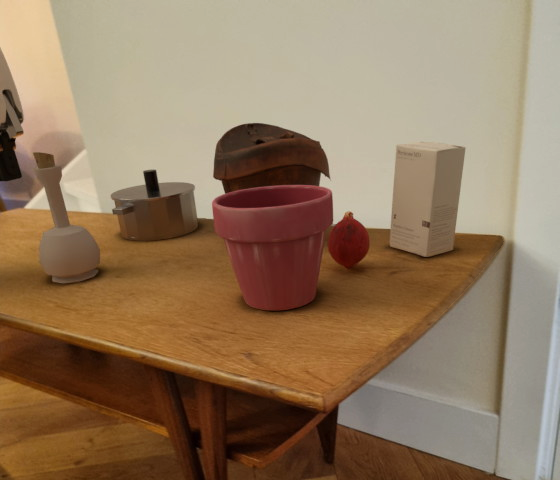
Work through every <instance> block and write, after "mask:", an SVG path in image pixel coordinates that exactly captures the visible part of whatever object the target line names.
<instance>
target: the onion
mask: <svg viewBox="0 0 560 480" xmlns="http://www.w3.org/2000/svg"><path fill="white" fill-rule="evenodd" d="M370 244H371V243H370V236H369V231H368V229H367V228H366V227H365V226H364V225H363V223H362V222H360V221H359V220H357V219H356V218H354V212H352V211H350V210H347V211H345V213H344V214H343V217H342V219H341V220H339V221H338V222H337V223H336V224H334V225H333V227H332V228H331V230H330V233H329V235H328V237H327V250H328V253H329V255H330V257H331V258H332V259H333V260H334V262H336V263H337V264H338V265H340V266H341V267H342V268H345V269H346V270H351V269H353V268H355V266H356V265H358V264H359V263H360V262H362V260H363V259H365V257H366V256H367V254H368V253H369V250H370Z"/></svg>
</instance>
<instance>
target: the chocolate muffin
mask: <svg viewBox="0 0 560 480" xmlns="http://www.w3.org/2000/svg"><path fill="white" fill-rule="evenodd" d="M322 175H324V177H327V178H328V179H329V181H332V179H331V175H330V165H329V160H328V157H327V154H326V151H325V150H324V148H322V144H321V142H320V141H319V140H315V139H313V138H310V137H309V136H307V135H304V134H303V133H300V132H297V131H294V130H291V129H287V128H283V127H280V126H278V125H274V124H268V123H263V122H251V123H250V122H249V123H243V124H238V125H237V126H234V127H232V128H230V129H228V130H227V131H225V132H224V134H222V136H221V137H220V139H219V140H218V141H217V143H216V144H215V152H214V159H213V174H212V177H213V179H215V180H216V181H217V180H218V181H220V182H221V185H222V188H223V192H224V194H226V193H229V192H233V191H238V190H243V189H249V188H256V187H265V186H279V185H313V186H320V183H321V178H322V177H321V176H322Z"/></svg>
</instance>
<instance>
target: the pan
mask: <svg viewBox="0 0 560 480" xmlns="http://www.w3.org/2000/svg"><path fill="white" fill-rule="evenodd" d="M194 191H195V190H194ZM194 191H193V192H191V193H188V194H186V195H182V196H179V197H174V198H169V199H163V200H156V201H146V202H119V201H114V200H113V201H114V202H113V203H114V206H115V207H113V208H111V212H112V215H117V220H118V221H117V222H118V226H119V230H120V234H121V237H123V239H125V240H130V241H137V242H139V241H140V242H147V241H162V240H167V239H172V238H173V239H174V238H177V237H181V236H185V235H187V234H190V233H192V232H194V231H196V230H197V229H198V227H199V220H198V214H197V205H196V198H195V192H194Z"/></svg>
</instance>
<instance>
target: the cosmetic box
mask: <svg viewBox="0 0 560 480" xmlns="http://www.w3.org/2000/svg"><path fill="white" fill-rule="evenodd" d="M395 147H396V148H395V158H394V159H395V162H394V174H393V175H394V176H393V188H392V203H391V204H392V205H391V217H390V230H389V231H390V232H389V247H391V248H393V249H397V250H400V251H405V252H408V253H412V254H415V255H417V256H421V257H425V258H430V257H433V256H436V255H439V254H445V253H447V252H450V251H453V250H454V246H455V245H454V243H455V236H456V228H457V220H458V212H459V205H460V204H459V203H460V195H461V188H462V187H461V186H462V179H463V170H464V164H465V157H466V156H465V155H466V146H463V145H462V146H461V145H456V144H448V143H445V142H444V143H443V142H434V141H417V142H416V141H415V142H410V143H400V144H396V145H395Z"/></svg>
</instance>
